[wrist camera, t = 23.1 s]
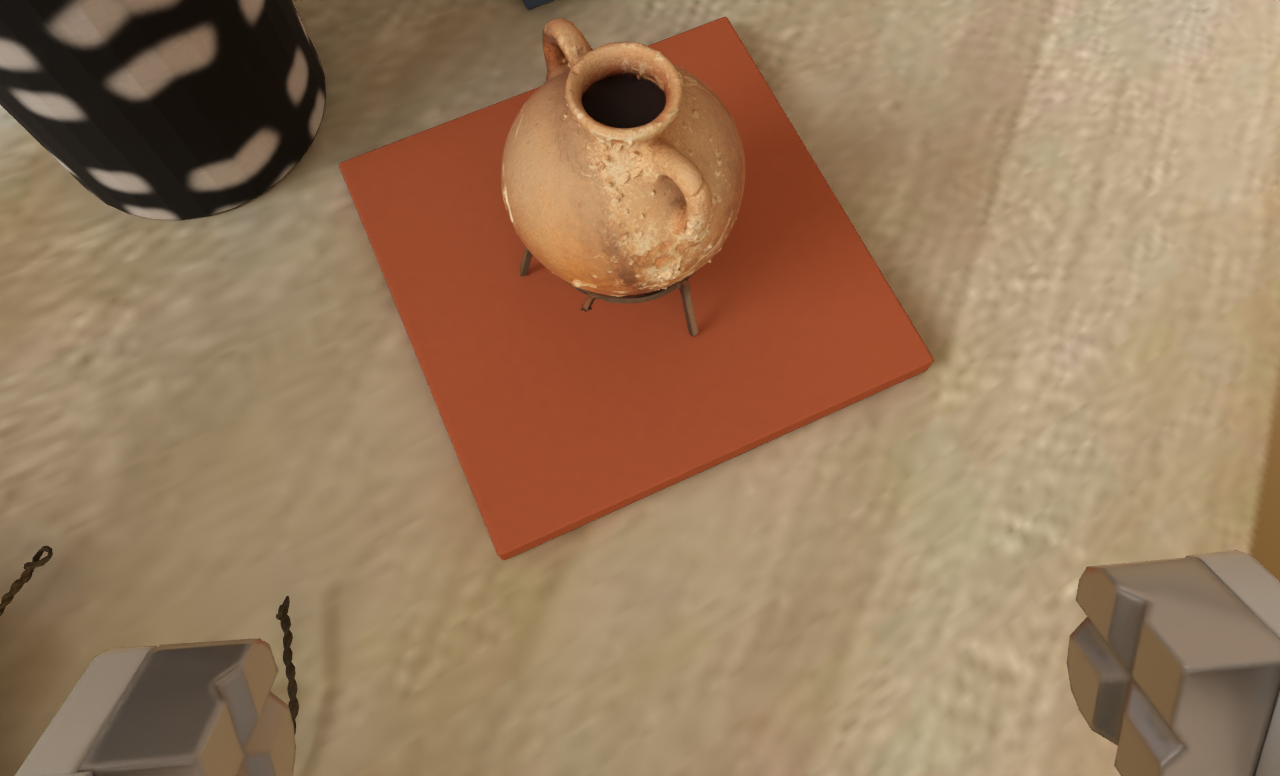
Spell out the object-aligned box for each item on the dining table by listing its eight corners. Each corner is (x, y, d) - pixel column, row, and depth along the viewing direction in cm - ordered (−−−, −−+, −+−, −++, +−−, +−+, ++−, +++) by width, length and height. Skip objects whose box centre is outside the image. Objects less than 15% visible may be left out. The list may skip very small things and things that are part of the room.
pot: (558, 160, 29) (489, 338, 27) (543, -64, 22) (445, 147, 19) (746, 206, 29) (696, 391, 26) (793, -9, 22) (730, 216, 19)
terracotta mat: (345, 176, 30) (337, 162, 29) (724, 31, 31) (726, 14, 31) (502, 562, 26) (498, 556, 25) (927, 370, 27) (935, 360, 27)
